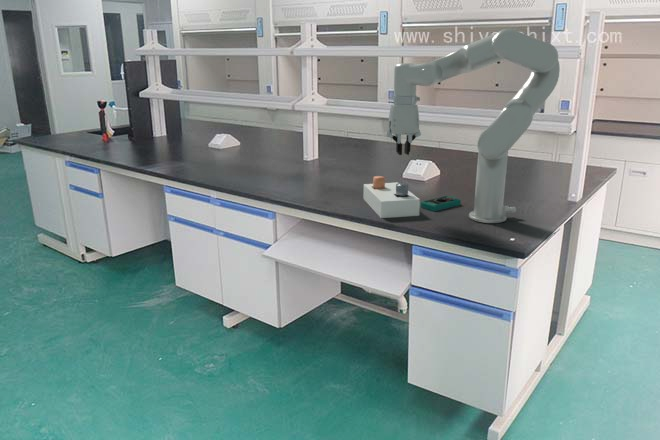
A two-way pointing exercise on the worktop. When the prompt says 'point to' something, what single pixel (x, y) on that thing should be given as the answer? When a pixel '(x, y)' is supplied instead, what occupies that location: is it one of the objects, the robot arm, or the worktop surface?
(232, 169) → the worktop surface
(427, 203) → the digital multimeter
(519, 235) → the worktop surface
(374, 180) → the orange rounded cylinder
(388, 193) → the panel
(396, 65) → the robot arm
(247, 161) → the worktop surface
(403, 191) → the charcoal plunger
